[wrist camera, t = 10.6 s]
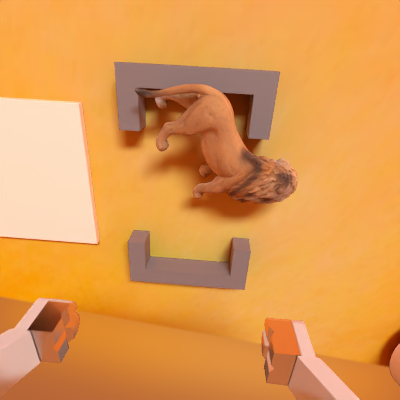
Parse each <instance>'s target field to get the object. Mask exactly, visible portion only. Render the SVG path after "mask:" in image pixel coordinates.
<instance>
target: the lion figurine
mask: <svg viewBox="0 0 400 400" xmlns="http://www.w3.org/2000/svg"><path fill="white" fill-rule="evenodd" d="M134 91H135V92H136V93H137V95H138V96H140V97H143V98H155V101H156V104H157V105H158V107H159V108H166V107H167V100H166V99H171V100H174V101H176V102H178V103H180V104H181V105H182V106H184V107H185V108H187V110H186V111H185V112H184V113H183V114H182V115H181V117H179V118H178V119H177V120H176V121H172V122H166V123H165V124H164V126H163V128H162V130H161V131H160V133H159V135H158V137H157V139H156V146H157V148H158V150H160V151H164V150H166V149H167V148H168V146H169V144H168V141H167V138H168V137H169V136H170V135H172V134H184V135H193V134H197V133H201V148H202V152H203V155H204V157H205V160H206V162H207V163H208V164H203V165H201V166H200V168H199V172H200V174H201V175H202V176H203V177H207V176H208V175H209V173H212V172H215V174H217V176H216V177H215V178H214V179H213V181H211V182H208V183H199V184H198V185H197V186H195V187H194V189H193V196H194V197H195V198H196V199H199V198H201V197H202V195H203V193H222V192H226V193H227V194H228V195H230V196H231V198H233V199H234V200H237V201H238V200H239V201H240V202H242V203H255V204H257V203H260V204H262V203H273V202H281V201H283V200H284V199H285V198H287V197H289V195H290V194H292V193H293V192H294V191H295V190H296V187H297V172H296V171H295V169H294V168H292V167H291V165H290V163H289V162H287V161H286V160H285V159H283V158H282V159H279V160H274V159H269V158H267V157H265V156H256V155H254V154H252V153H251V152H250V151H249V150H248V149H247V148H246V146H245V145H244V143H243V141H242V140H241V137H240V135H239V133H238V131H237V128H236V125H235V119H234V112H233V108H232V106H231V103H230V101H229V100H228V99H227V97H226V96H225V95H224V94H223V93H222V92H220V91H219V90H217V89H215V88H213V87H210V86H208V85H203V84H184V85H179V86H174V87H170V88H166V89H163V90H158V91H148V90H145V89H139V88H134Z"/></svg>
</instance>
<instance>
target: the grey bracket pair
mask: <svg viewBox="0 0 400 400" xmlns="http://www.w3.org/2000/svg"><path fill="white" fill-rule="evenodd" d="M114 63H115V76H116V90H117V103H118V117H119V130H129V131H140V130H142V129H143V128H144V127H145V126H146V115H145V98H143V97H140V96H138V95H137V93H136V92H135V91H134V88H139V89H145V88H154V89H166V88H170V87H174V86H179V85H184V84H203V85H208V86H210V87H213V88H215V89H217V90H219V91H220V92H222V93H236V94H251V95H250V103H249V111H248V119H247V127H246V134H247V136H248V138H251V139H266V140H269V136H270V130H271V124H272V118H273V112H274V106H275V99H276V93H277V87H278V81H279V75H280V72H278V71H265V70H248V69H231V68H214V67H197V66H180V65H163V64H146V63H129V62H114ZM128 251H129V264H130V278H131V281H142V282H154V283H167V284H179V285H191V286H204V287H216V288H229V289H241V290H245V283H246V277H247V271H248V265H249V259H250V253H251V250H250V245H249V239H244V238H233V239H232V247H231V255H230V263H227V262H214V261H201V260H188V259H176V258H163V257H150V236H149V231H139V230H134V231H133V233H132V235H131V237H130V239H129V241H128Z"/></svg>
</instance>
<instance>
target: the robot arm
mask: <svg viewBox="0 0 400 400" xmlns="http://www.w3.org/2000/svg"><path fill="white" fill-rule="evenodd" d="M76 309H77V304H76V302H75V301H68V300H59V299H49V298H39V299H37V300H36V301H35V303H34V304H33V305H32V307H31V308H30V309H29V310H28V312H27V313H26V314H25V315H24V317H23V318H22V319H21V320H20V322H19V323H18V324H17V326H16V327H15V328H14V329H9V330H7V331H6V332H4V333H2V334H1V335H0V396H1V395H3V394H4V393H5V392H6V391H7V390H9V389H10V388H11V387H12V386H13V385H14V384H16V383H17V382H18V381H19V380H20V379H22V378H23V377H24V376H25V375H26V374H27V373H29V372H30V371H31V370H32V369H33V368H35V367H36V366H37V365H38V364H39V363H40V361H41V362H56V363H61V362H62V360H63V358H64V356H65V354H66V352H67V351H68V349H69V345H68V342H69V341H71V340H72V339H74V337H75V335H76V334H77V332H78V328H79V324H80V318H79V314H77V313H76V312H75V311H76ZM264 325H265V330H264V331H263V333H262V343H261V345H262V355H263V357H264V358H265V359H266V360H265V365H264V369H265V376H266V382H267V383H271V384H279V385H286V386H288V387H289V389H290V391H291V392H292V393H293V395H294V396H295V398H296V399H297V400H360V399H359V398H358V397H357V396H356V395H355V394H354V393H353V392H352V391H351V390H350V389H349V388H348V387H347V386H346V385H345V384H344V383H343V382H342V381H341V380H340V379H339V378H338V376H337V375H335V373H334V372H333V371H332V370H331V369H330V368H329V367H328V366H327V365H326V364H325V363H324V362H323V361H322V360H321V359H320V358H316V357H315V354H314V350H313V347H312V344H311V341H310V338H309V335H308V332H307V329H306V326H305V323H304V322H303V321H298V320H288V319H274V318H266V320H265V324H264ZM389 367H390V373H391V375H392V377H393V379H394V380H395V381H396V382H397V383H398V384H399V385H400V343H399V344H398V346H397V347H396V348H395V350H394V352H393V354H392V356H391V359H390V364H389Z"/></svg>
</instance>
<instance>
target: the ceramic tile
mask: <svg viewBox="0 0 400 400" xmlns="http://www.w3.org/2000/svg"><path fill="white" fill-rule="evenodd" d="M0 236H2V237H15V238H28V239H41V240H54V241H67V242H80V243H92V244H97V243H98V242H99V241H100V240H99V232H98V224H97V216H96V208H95V201H94V193H93V185H92V177H91V169H90V162H89V154H88V146H87V138H86V130H85V122H84V115H83V107H82V102H70V101H54V100H39V99H23V98H7V97H0Z"/></svg>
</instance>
